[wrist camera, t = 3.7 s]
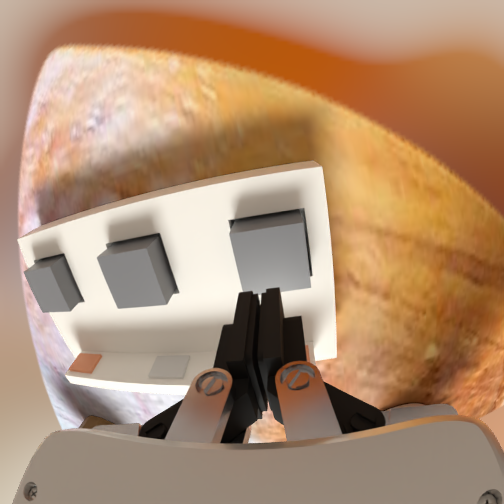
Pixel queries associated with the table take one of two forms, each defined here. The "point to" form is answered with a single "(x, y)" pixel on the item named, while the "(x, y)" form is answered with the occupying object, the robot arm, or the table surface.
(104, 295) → the button board
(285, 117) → the table surface
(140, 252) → the button middle
